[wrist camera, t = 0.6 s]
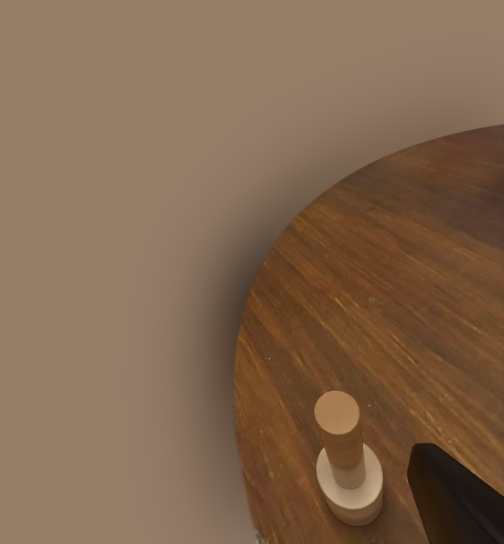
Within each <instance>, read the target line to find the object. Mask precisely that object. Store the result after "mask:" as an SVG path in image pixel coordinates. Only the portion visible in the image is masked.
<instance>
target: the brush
mask: <svg viewBox="0 0 504 544" xmlns="http://www.w3.org/2000/svg"><path fill="white" fill-rule="evenodd" d="M314 414H315V419H316V422H317V425H318V429H319V432H320V435H321V438H322V441H323V445H324V448H323V449H322V451H321V452H320V454H319V457H318V460H317V465H316V474H317V479H318V483H319V485H320V488H321V490H322V492H323V495H324V497H325V499H326V502H327V504H328V506H329V508H330V510H331V511H332V513H333V514H334V515H335V516H336V517H337V518H338V519H339V520H341V521H342V522H344V523H346V524H348V525H352V526H364V525H367V524H369V523H371V522H372V521H373V520H375V518H376V517H377V516H378V514H379V513H380V510H381V508H382V503H383V471H382V467H381V464H380V461H379V459H378V458H377V456H376V454H375V453H374V452H373V451H372V450H371V449H370V448H369V447H368V446H367V445H366V444H364V443H363V440H362V429H361V418H360V410H359V406H358V404H357V402H356V401H355V400H354V399H353V398H352V397H351V396H350V395H348V394H347V393H344V392H341V391H331V392H327V393H325V394H324V395H322V396H321V397H320V398H319V399H318V401H317V402H316V405H315V409H314Z"/></svg>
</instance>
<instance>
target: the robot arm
mask: <svg viewBox="0 0 504 544" xmlns="http://www.w3.org/2000/svg"><path fill="white" fill-rule="evenodd" d="M407 477H408V482H409V485H410V488H411V491H412V494H413V497H414V500H415V503H416V505H417V508H418V511H419V514H420V517H421V520H422V523H423V526H424V529H425V532H426V534H427V537H428V540H429V543H430V544H504V496H502V495H501V494H500V493H498V492H497V491H496V490H494V489H493V488H492V487H491V486H489V485H488V484H487V483H485V482H484V481H483V480H481V479H480V478H479V477H477V476H476V475H475V474H474V473H472V472H471V471H470V470H468V469H467V468H466V467H464V466H463V465H462V464H460V463H459V462H458V461H457V460H455V459H454V458H453V457H451V456H450V455H449V454H447V453H446V452H445V451H443V450H442V449H441V448H440V447H438V446H437V445H435V444H433V443H417V444H415V445H414V446H413V447H412V451H411V456H410V460H409V465H408V470H407Z"/></svg>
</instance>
